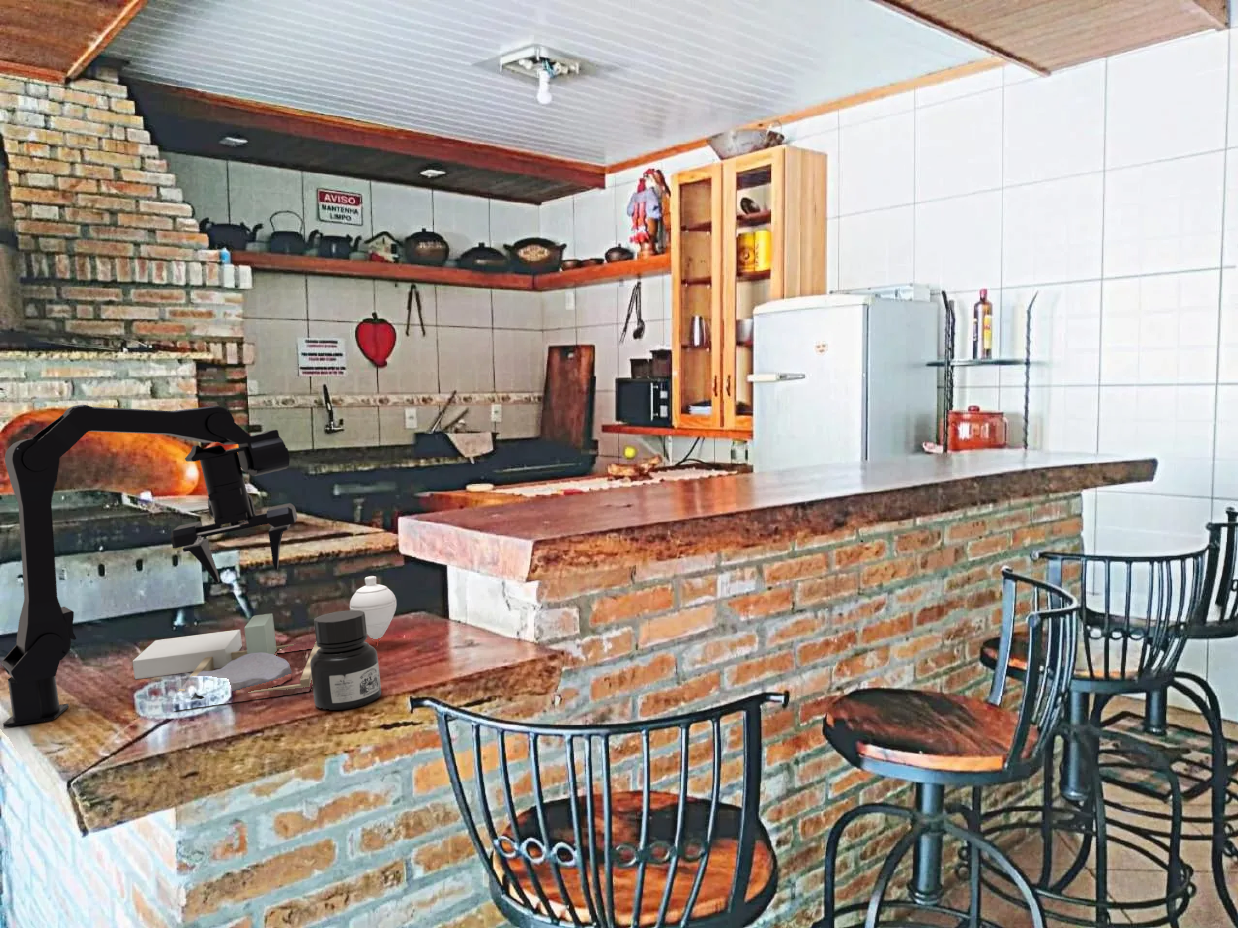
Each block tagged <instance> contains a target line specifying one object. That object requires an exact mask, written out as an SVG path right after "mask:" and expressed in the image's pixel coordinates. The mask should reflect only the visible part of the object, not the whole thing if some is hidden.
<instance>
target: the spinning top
mask: <svg viewBox="0 0 1238 928" xmlns="http://www.w3.org/2000/svg"><path fill="white" fill-rule="evenodd" d="M364 583H365V585H363V586H361V587H360V588H358V589H356V590H355V592H354V594H353V595H352V597H351V599H350V601H349V610H360V611H364V613H365V620H366V629H367V637H369V638H373V639H378V638H381V637H383V636H384V634H385V633H386V631H387V630H388V628H389V627H390V624H391V623H392V622H391V621H392V620H393V618H394V616H395V613H396V610H397V598H396V595H395V594H394V592H393V591H392V590H391V589H389V587H388V586H386V585H383V584H379V583H377V576H374V575H370V576H366V577H365V578H364ZM373 639H372V640H373ZM381 639H382V638H381Z"/></svg>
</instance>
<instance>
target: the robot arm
mask: <svg viewBox="0 0 1238 928" xmlns="http://www.w3.org/2000/svg"><path fill="white" fill-rule="evenodd" d="M90 432H95V433H97V432H98V433H120V434H122V433H123V434H125V433H126V434H151V435H152V434H153V435H166V436H171V437H174V438H175V437H176V438H179V439H182V440H183V439H184V440H188V441H193V442H198V443H205V444H206V443H207V444H208V443H209V444H210V443H219V444H218V445H214V446H210V447H204V448H203V447H201V446H200V445H199V444H198V445H193V446H192V447H191V450H190V452H189V453H188V454H187V456H185V458H184V460H185V461H186V462H191V463H192V462H195V463H196V462H198V461H199V462H200V467H201V470H202V474H203V479H204V483H205V487H206V491H207V497H208V498H207V507H208V508H207V509H208V512H209V515H210V517H212V518H213V521H214V523H211V524H206V525H205V524H204V525H203V523H202V521H195V522H191V523H186V524H181V525H177V527H175V528H174V529H172V531H171V533H170V541H171V545H172V548H173V549H178V548H182V552H183V553H185V552H190V553H191V554H192V555H193V556H194V557H195V558H196V559H197V561H199V562H200V563H201V565H202V566H203V567H204V569H205V570H206V571H207V573H208V574H209V575H210V577H211V578H212V579H213V581H214V582H215V583H216V584H218V583H219V582H220V576H219V571H218V568H217V566H216V563H215V559H214V558H213V555H212V551H211V549H210V543H209V538H206V537H211V536H215V535H220V534H225V533H226V534H227V533H229V532H230V533H231V532H235V531H240V530H244V529H250V528H254V527H259V526H263V525H269V526H270V528H269V529H268V539H269V544H270V546H269V547H270V554H271V559H272V566H273V568H274V571H276V570H277V571H278V570H279V562H280V550H281V542H282V538H283V534H284V532H286V531H288V530H289V528H290V527H291V525H293V524H295V523H296V521H297V519H298V514H297V510H296V507H295V505H294V504H292V503H291V502H289V503H284V504H278V505H274V506H270V507H268V509H267V510H266V512H263V513H259V514H256V510H255V503H254V498H253V497H252V496H251V495H250V494H249V493H248V491H247V488H246V487H247V486H246V482H245V479H244V475H243V472H245V473H247V472H248V474H249V475H250V476H252V477H256V476H261V475H264V474H266V475H267V474H269V473H273V472H278V471H282V470H286V469H288V468H289V466H290V453H289V449H288V447H287V446H286V444H285V442H284V440H283V439H282V438H281V437H280V434H279V430H277V429H271V430H267V431H264V432H262V433H258V434H252V435H250V434H249V433H248V432H247V431H245V429H243V428H242V427H241V426H239V424H237V423H236V421H235V418H234V416H233V414H232V412H230V410H229V409H228V408H226V407H224V406H219V405H213V406H204V407H194V408H187V409H185V408H184V409H178V410H177V409H176V410H159V409H140V408H139V409H138V408H125V407H124V408H119V407H100V406H90V405H87V404H79V405H78V404H77V405H73V406H70V407H68V408H66V410H65V411H64V412H63V414H62V415H60V416H59V417H58V418H56V419H55V420H54V421H52V422H51V423H50V424H48V425H47V426H45V427H44V428H43V429H41V430H40V431H38V432H37V433H36V434H35V435H33V437H31V438H27V439H20V440H18V441H16V442H13V444H12V445H10V446H9V447H8V448H7V450H6V451H5V455H4V463H5V468H6V472H7V474H8V477H9V481H10V482H9V483H10V484H11V488H12V490H13V492H14V495H15V498H16V501H17V505H18V516H19V518H18V519H19V534H20V549H21V552H20V553H21V563H22V564H21V565H22V566H21V567H22V581H23V596H24V597H23V598H24V599H23V604H22V608H21V611H20V616H19V620H18V627H17V633H16V644H15V645H14V646H13V648H12V649H10V651H9V652H8V654H6V656H4V658H3V659H2V660H1V663H0V664H1V665H2V667H3V668H4V671H6V674H7V675H9V676H10V677H9V678H8V679H7V683H8V690H9V691H8V692H9V698H10V706H11V713H12V716H11V717H10V718H8V719H7V720H6V721H4V723H2V725H3V726H2V727H3V728H7V727H15V726H16V727H17V726H21V725H28V724H35V723H44V722H49V721H51V722H52V721H54V720H56V719H57V718H58V717H60V715H61V714H62V713H63V712H65V711H66V710H67V709H68V708H69V706H70V705H69V703H63V704H62V703H61V704H60V703H59V702H60V701H59V693H58V686H57V678H56V675H57V672H58V668H59V665H60V661H62V660H63V659H64V658H65V657H66V656H67V655H68V654H69V653H70V651H71V645H72V640H74V641H75V640H77V637H76V634H74V629H73V628H74V627H73V625H74V618H75V615H74V614H75V612H74V610H72V609H70V608H68V607H66V606H62V607H61V604H60V602H59V597H58V586H57V574H56V573H57V570H56V555H55V540H54V539H55V537H54V524H53V508H52V502H53V498H54V497H53V496H54V493H55V489H56V486H57V482H58V480H57V479H58V475H59V468H60V461H61V460H60V458H61V457H62V456H64V455H65V453H67V452H68V451H70V449H72V448H73V447H74V446H75V445H76V444H77V443H78V441H80V440H81V439H82V438H83V437H84V436H85V435H86V434H87V433H90ZM221 444H222V445H225V446H226V445H237V446H238V447H235V448H234V447H233V448H229V449H226V448H225V447H224V446H222V445H221ZM226 524H227V526H223V525H226ZM228 524H229V525H228Z"/></svg>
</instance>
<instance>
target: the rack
mask: <svg viewBox="0 0 1238 928" xmlns="http://www.w3.org/2000/svg"><path fill="white" fill-rule="evenodd" d="M316 643H317V642H315V644H314V647H313V649H312V650H311V652H310V654H309V657H308V660H307V661H306V664H305V667H304V669H303V672H302V674H301V676H300V679H299V683H297V684H291V685H281V686H277V687H273V688H268V689H261V690H254V691H251V692H248V693H254V692H264V691H273V690H286V689H287V690H288V689H295V688H303V687H304V688H305V687H310V683H311V680H312V675H311V666H310V661H311V658H312V657H313V656H314V655H315V654H316V652H317V650H318V649H320V647H318V646H317V644H316ZM294 644H295V643H291V644H290V643H289V644H283V645H276V649H282V648H285V647H288V646H293V645H294ZM246 654H247V649H245V650H239V651H236V652H232V653H231V656H232V661H233V660H236V659H238V658H239V657H241V656H244V655H246ZM213 670H215V669H214V662H213V657H207V658H204V660H203V661H202V662H201V663H200V664H199V666H198V667H197V668H196V669H195V670H194V671H193V672H192V673H191V674H190V675H189V677H191V676H197V675H198V674H199V673H200V672H202V671H213ZM177 691H185V689H180V688H179V689H178V690H177Z"/></svg>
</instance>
